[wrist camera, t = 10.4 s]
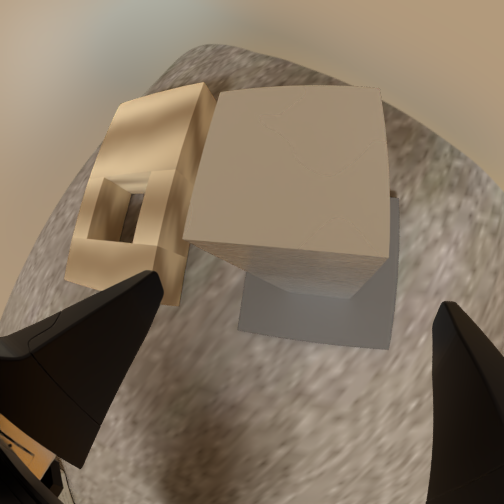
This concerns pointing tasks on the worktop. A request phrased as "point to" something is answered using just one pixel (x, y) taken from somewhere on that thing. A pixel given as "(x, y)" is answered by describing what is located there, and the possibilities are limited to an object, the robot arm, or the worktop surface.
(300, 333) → the rubber mat
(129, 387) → the worktop surface
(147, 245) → the wooden block with hole
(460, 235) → the worktop surface
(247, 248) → the steel bar
